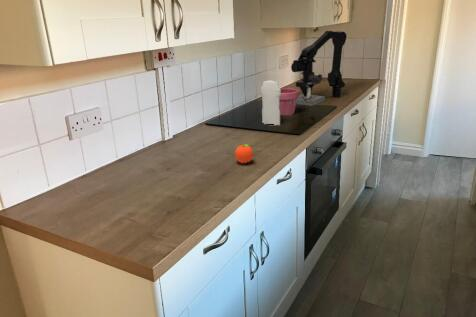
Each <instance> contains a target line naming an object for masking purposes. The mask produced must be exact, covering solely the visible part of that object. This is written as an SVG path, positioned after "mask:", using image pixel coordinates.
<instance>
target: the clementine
mask: <svg viewBox="0 0 476 317" xmlns="http://www.w3.org/2000/svg"><path fill="white" fill-rule="evenodd" d="M234 156H235V159H236V160H237V161H238V162H239V163H240V164H247V162H248V163H250V162H251V161H252V159H253V158H254V151H253V148H252V146H251V145H250V144H242V145H239V146H238V147H237V148H236V149H235V152H234Z"/></svg>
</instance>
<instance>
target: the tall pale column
mask: <svg viewBox="0 0 476 317" xmlns="http://www.w3.org/2000/svg"><path fill="white" fill-rule="evenodd" d="M281 89H282V88H280V86H279V81H276V80H275V81H274V80H271V79H270V80H264V81H262V86H261V87H260V95H261V98H262V100H261V101H262V109H261V116H262V117H261V118H262V119H261V120H262V123H264V124H263V125H266V124H274V125H273V126H277V125H278V126H281V115H280V110H279V99H280V98H279V97H280V95H281Z"/></svg>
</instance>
